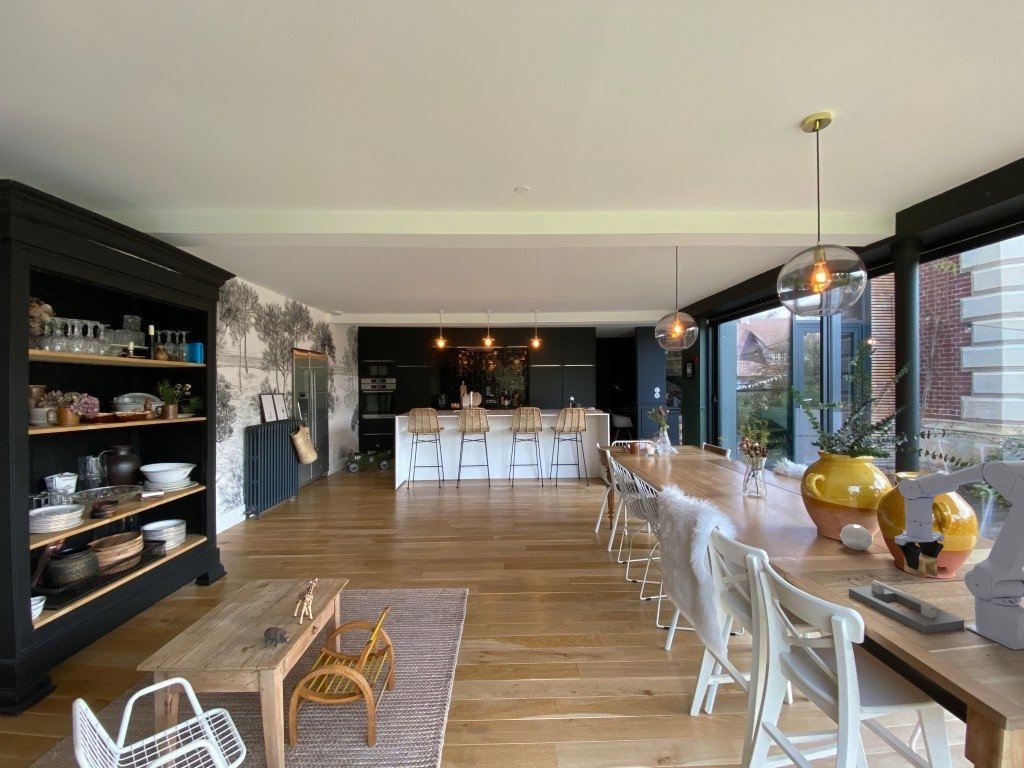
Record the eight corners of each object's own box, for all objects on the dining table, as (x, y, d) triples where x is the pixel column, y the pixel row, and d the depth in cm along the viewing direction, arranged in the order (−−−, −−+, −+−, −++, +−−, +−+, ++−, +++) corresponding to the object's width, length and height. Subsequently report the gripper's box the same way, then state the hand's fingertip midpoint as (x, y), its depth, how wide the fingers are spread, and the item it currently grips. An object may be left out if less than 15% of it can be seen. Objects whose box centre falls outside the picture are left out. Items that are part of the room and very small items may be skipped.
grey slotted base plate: (964, 628, 107) (963, 607, 107) (924, 633, 105) (924, 613, 105) (883, 591, 126) (882, 574, 127) (848, 595, 125) (848, 577, 125)
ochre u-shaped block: (937, 576, 120) (936, 558, 120) (923, 578, 119) (922, 560, 119) (918, 569, 125) (917, 552, 125) (904, 570, 124) (903, 553, 124)
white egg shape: (857, 558, 154) (845, 548, 167) (883, 544, 151) (869, 536, 165) (837, 535, 157) (827, 527, 170) (863, 521, 154) (850, 515, 168)
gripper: (924, 514, 127) (926, 559, 127) (883, 517, 125) (885, 563, 125) (952, 521, 120) (954, 569, 120) (908, 525, 118) (910, 574, 118)
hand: (920, 567), depth 122 cm, fingers closed on ochre u-shaped block, 5 cm apart
